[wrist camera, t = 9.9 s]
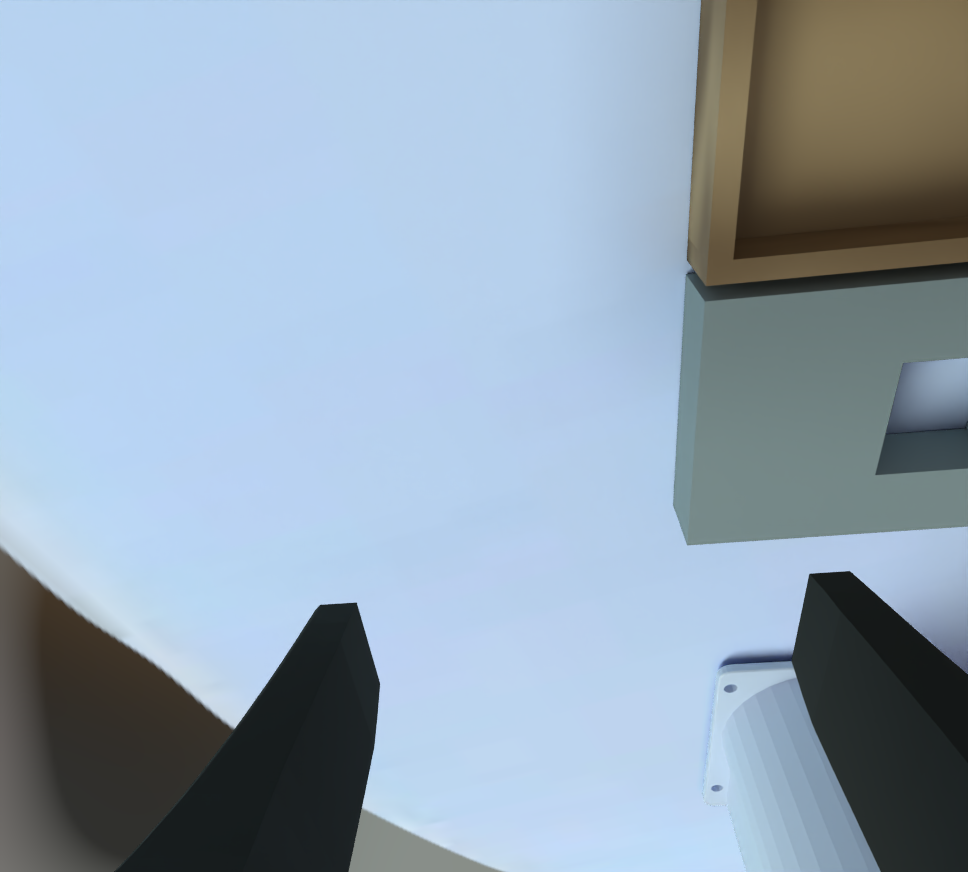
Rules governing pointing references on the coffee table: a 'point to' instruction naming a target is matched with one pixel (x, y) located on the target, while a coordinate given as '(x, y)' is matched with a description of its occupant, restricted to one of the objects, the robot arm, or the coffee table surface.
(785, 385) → the lock housing
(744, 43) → the tray
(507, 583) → the coffee table surface
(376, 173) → the coffee table surface
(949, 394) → the coffee table surface
